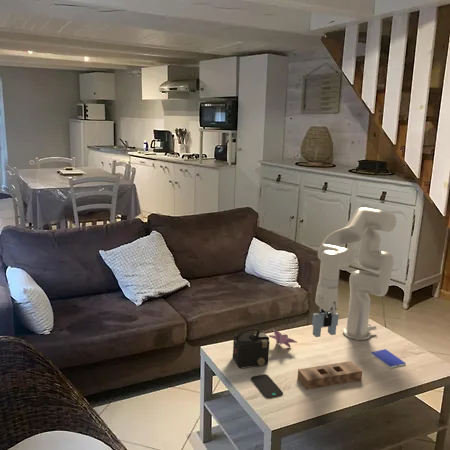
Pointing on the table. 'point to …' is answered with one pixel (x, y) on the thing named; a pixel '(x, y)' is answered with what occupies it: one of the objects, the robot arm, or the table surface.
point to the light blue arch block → (319, 323)
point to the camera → (250, 348)
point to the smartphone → (266, 386)
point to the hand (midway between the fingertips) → (325, 323)
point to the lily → (282, 339)
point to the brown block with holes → (329, 375)
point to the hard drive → (388, 358)
